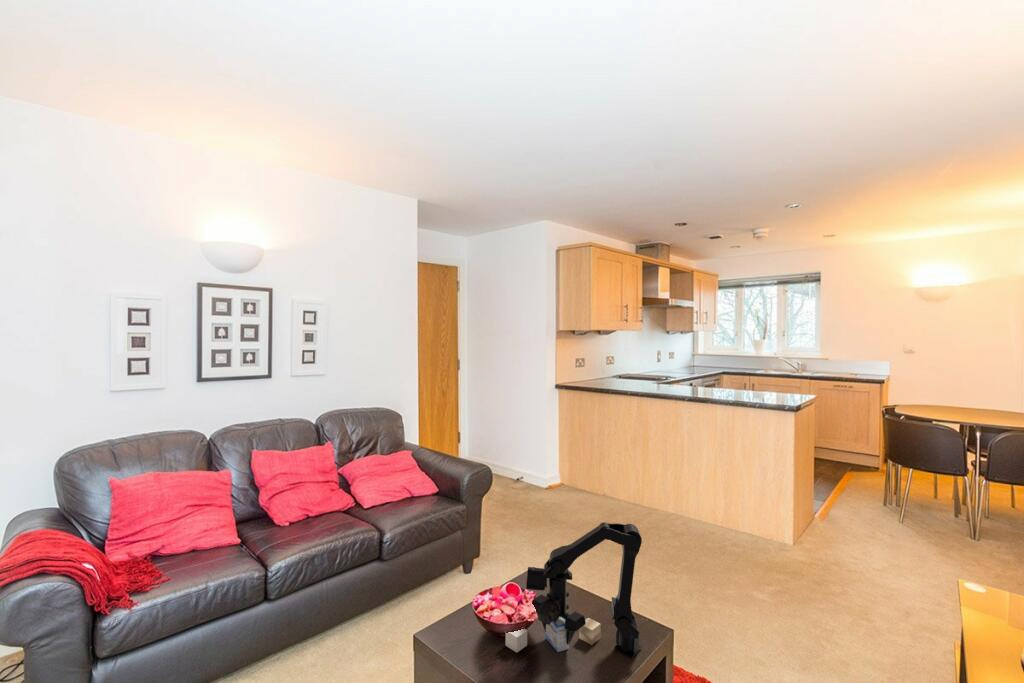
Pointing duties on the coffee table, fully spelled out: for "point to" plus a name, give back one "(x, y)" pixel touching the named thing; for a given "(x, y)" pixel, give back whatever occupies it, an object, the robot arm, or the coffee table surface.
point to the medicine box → (557, 634)
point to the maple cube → (590, 631)
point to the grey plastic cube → (516, 640)
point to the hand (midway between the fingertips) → (557, 637)
